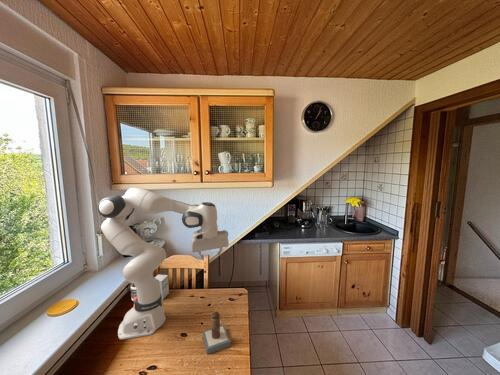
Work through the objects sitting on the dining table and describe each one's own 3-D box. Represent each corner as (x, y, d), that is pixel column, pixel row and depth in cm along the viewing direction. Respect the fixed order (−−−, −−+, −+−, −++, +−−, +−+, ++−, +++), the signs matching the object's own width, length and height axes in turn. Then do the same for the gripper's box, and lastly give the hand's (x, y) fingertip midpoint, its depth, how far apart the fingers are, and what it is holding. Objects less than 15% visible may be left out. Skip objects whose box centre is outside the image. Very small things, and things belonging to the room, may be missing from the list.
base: (207, 354, 97) (207, 349, 96) (202, 336, 107) (202, 331, 106) (230, 345, 101) (230, 340, 101) (224, 329, 111) (224, 324, 111)
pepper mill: (212, 340, 101) (211, 318, 100) (210, 333, 105) (210, 312, 103) (221, 337, 102) (220, 316, 101) (219, 331, 106) (218, 310, 105)
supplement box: (162, 300, 134) (161, 281, 133) (152, 299, 136) (150, 280, 134) (169, 293, 142) (168, 275, 140) (159, 292, 143) (158, 274, 141)
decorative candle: (148, 297, 137) (144, 260, 134) (131, 303, 132) (127, 264, 129) (145, 290, 145) (142, 255, 141) (130, 295, 140) (126, 258, 136)
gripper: (226, 228, 124) (227, 251, 126) (189, 233, 116) (190, 257, 118) (229, 231, 118) (230, 255, 120) (191, 237, 110) (192, 262, 112)
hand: (210, 256), depth 119 cm, fingers open, 8 cm apart
